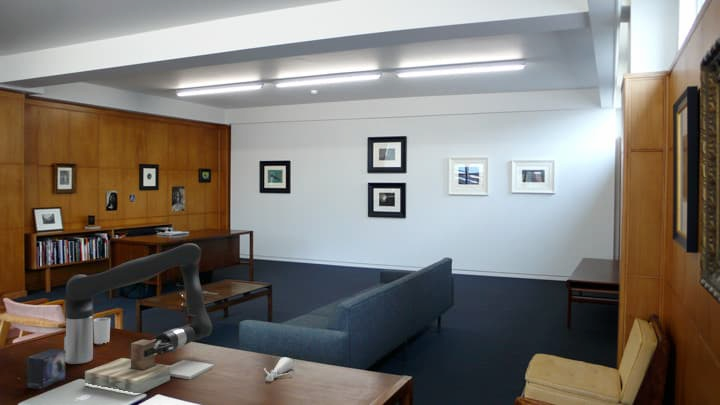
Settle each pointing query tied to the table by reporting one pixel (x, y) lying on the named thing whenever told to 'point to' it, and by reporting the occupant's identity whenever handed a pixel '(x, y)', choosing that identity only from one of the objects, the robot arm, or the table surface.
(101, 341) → the drinking glass
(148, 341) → the brown wooden block
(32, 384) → the small box
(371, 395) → the table surface
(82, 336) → the robot arm
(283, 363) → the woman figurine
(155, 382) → the slotted wooden base
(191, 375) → the grey pad
